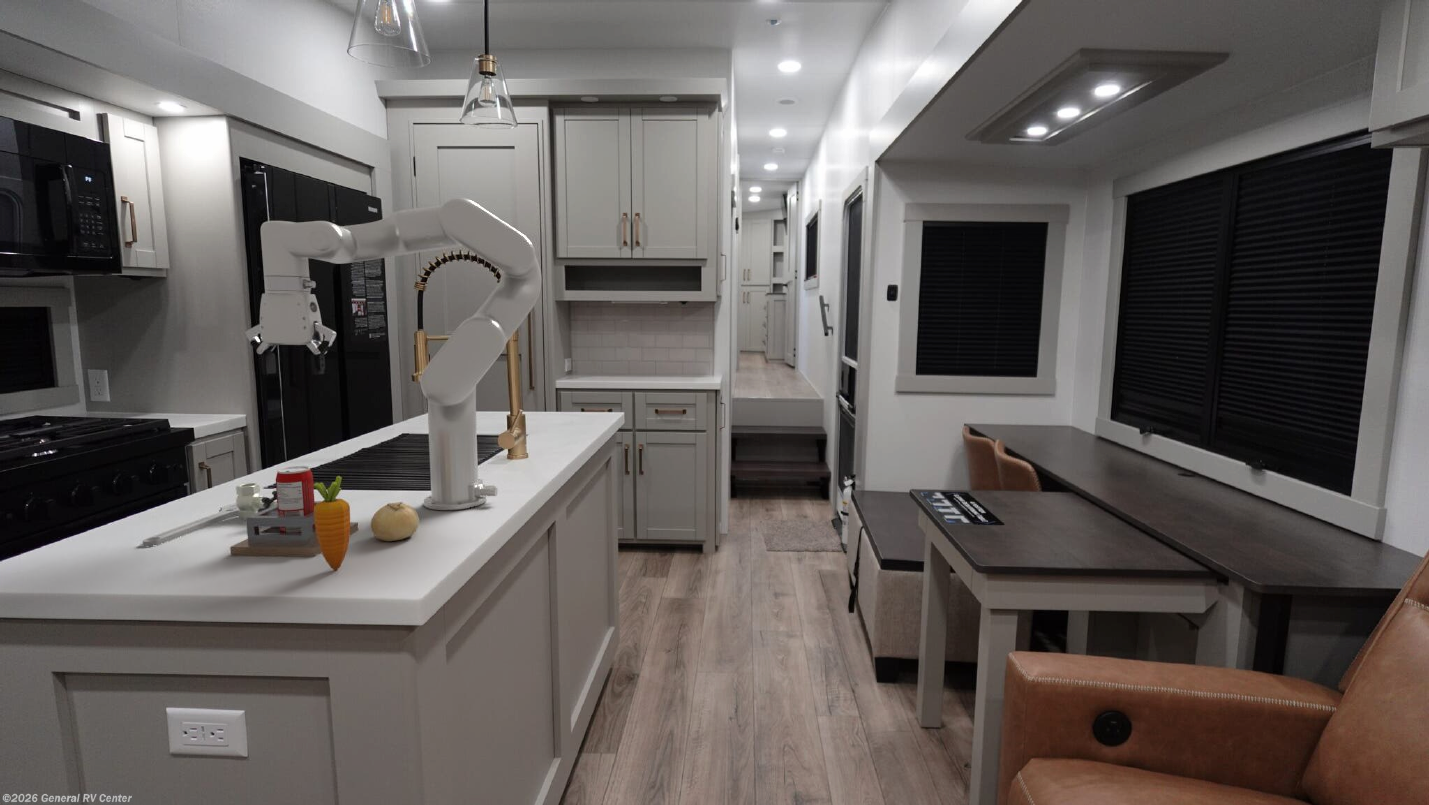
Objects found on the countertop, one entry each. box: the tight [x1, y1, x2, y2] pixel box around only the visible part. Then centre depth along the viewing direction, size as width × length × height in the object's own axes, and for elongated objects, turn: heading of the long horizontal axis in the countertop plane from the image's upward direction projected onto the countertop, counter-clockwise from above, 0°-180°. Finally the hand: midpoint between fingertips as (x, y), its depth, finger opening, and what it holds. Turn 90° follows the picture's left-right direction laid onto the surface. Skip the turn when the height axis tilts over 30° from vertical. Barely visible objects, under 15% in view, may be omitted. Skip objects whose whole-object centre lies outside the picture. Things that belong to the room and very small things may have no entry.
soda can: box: [275, 465, 315, 533], centre depth 120 cm, size 6×6×12 cm
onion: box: [370, 501, 420, 542], centre depth 123 cm, size 8×8×7 cm
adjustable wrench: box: [142, 502, 239, 547], centre depth 130 cm, size 25×6×2 cm, turn 171°
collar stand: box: [229, 500, 359, 557], centre depth 120 cm, size 14×14×6 cm
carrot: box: [313, 475, 351, 571], centre depth 106 cm, size 5×5×15 cm
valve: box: [235, 482, 277, 521], centre depth 133 cm, size 7×7×12 cm
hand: (293, 374), depth 135 cm, fingers open, 9 cm apart
